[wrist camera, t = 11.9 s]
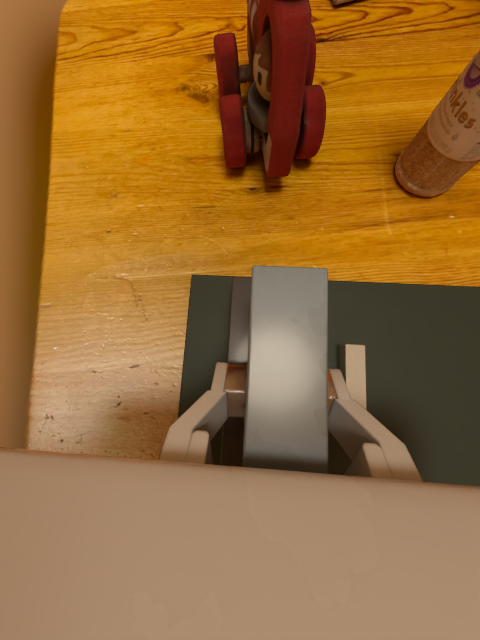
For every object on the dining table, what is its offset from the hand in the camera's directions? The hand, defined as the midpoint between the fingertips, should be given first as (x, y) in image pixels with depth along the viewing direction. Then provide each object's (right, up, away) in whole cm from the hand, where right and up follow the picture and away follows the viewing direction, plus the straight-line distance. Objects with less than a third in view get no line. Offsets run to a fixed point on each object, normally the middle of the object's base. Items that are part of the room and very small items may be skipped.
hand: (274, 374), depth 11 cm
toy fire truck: (0, +18, +8) cm, 20 cm away
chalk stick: (+5, -2, +4) cm, 7 cm away
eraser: (0, -1, +4) cm, 4 cm away
